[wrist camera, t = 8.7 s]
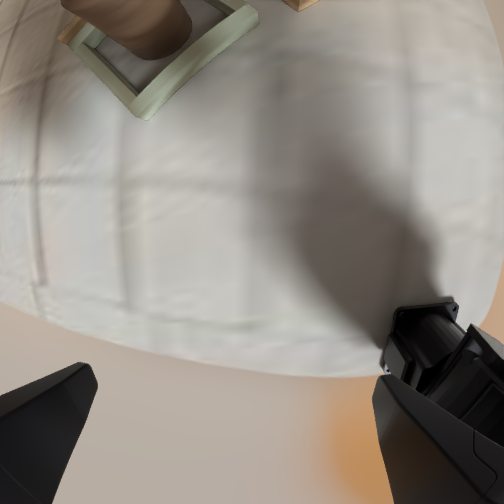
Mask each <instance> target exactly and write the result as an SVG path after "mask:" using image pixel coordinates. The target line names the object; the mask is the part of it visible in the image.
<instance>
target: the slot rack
mask: <svg viewBox="0 0 504 504" xmlns="http://www.w3.org/2000/svg"><path fill="white" fill-rule="evenodd" d="M205 1H207V2H208V3H210V4H211V5H213V6H215V7H216V8H218V9H219V10H221V11H222V12H223V13H225V14H226V15H228V17H227V18H225V19H224V20H223V21H221V22H220V23H219V24H217V25H216V26H215V27H213V28H212V29H211V30H209V31H208V32H207V33H205V34H204V35H203V36H202V37H200V38H199V39H198V40H197V41H196V42H194V43H193V44H192V45H191V46H190V47H188V48H187V49H186V50H185V51H184V52H183V53H181V54H180V55H179V56H178V57H177V58H176V59H175V60H174V61H172V62H171V63H170V64H169V65H168V66H167V67H166V68H165V69H164V70H163V71H162V72H161V73H160V74H159V75H158V76H157V77H156V78H155V79H154V80H153V81H152V82H151V83H150V84H149V85H148V86H147V87H146V88H145V89H144V90H143V91H142V92H141V93H140V94H139V93H138V92H137V91H136V90H135V89H134V88H133V87H132V86H131V85H130V84H129V83H128V82H127V81H126V80H125V79H124V78H123V77H122V76H121V75H120V74H119V73H118V72H117V71H116V70H115V69H114V68H113V67H112V66H111V65H110V64H109V63H108V62H107V61H106V60H105V59H104V58H103V57H102V56H101V55H100V54H99V53H98V52H97V51H96V50H95V48H96V47H97V46H98V45H99V44H100V42H101V41H102V40H103V39H104V38H105V37H106V36H107V35H106V34H105V33H103V32H102V31H100V30H99V29H97V28H96V27H94V26H93V25H91V24H90V23H88V22H86V21H85V20H83V19H82V18H80V17H78V16H77V15H76V16H75V17H74V19H73V20H72V21H71V22H70V23H69V24H68V25H67V26H66V28H65V29H64V30H63V31H62V32H61V33H60V35H59V36H58V37H57V38H58V39H59V40H60V42H62V43H64V44H67V45H68V46H69V47H70V48H71V49H72V50H73V51H74V52H75V53H76V54H77V55H78V57H79V58H80V59H81V60H82V61H83V62H84V63H85V64H86V65H87V66H88V67H89V68H90V69H91V70H92V71H93V72H94V73H95V75H96V76H97V77H98V78H99V79H100V80H101V81H102V82H103V83H104V84H105V85H106V86H107V87H108V88H109V89H110V90H111V92H112V93H113V94H114V95H115V96H116V97H117V98H118V99H119V100H120V101H121V102H122V103H123V104H124V105H125V106H126V108H127V109H128V110H129V111H130V112H131V113H132V114H133V115H134V116H135V117H138V118H141V119H143V120H146V121H148V120H149V119H150V118H151V117H152V116H153V114H154V113H155V112H156V111H157V110H158V109H159V108H160V107H161V106H162V105H163V104H164V103H165V102H166V101H167V100H168V99H169V98H170V97H171V96H172V95H173V94H174V93H175V92H176V91H177V90H178V89H179V88H180V87H182V86H183V85H184V84H185V83H186V82H187V81H188V80H189V79H190V78H191V77H192V76H194V75H195V74H196V73H197V72H198V71H199V70H200V69H201V68H203V67H204V66H205V65H206V64H207V63H208V62H210V61H211V60H212V59H213V58H214V57H216V56H217V55H218V54H219V53H221V52H222V51H223V50H224V49H226V48H227V47H228V46H230V45H231V44H232V43H233V42H235V41H236V40H237V39H239V38H240V37H241V36H243V35H244V34H246V33H247V32H248V31H250V30H251V29H253V28H254V27H256V26H257V25H258V24H259V19H258V12H257V10H256V9H254V8H253V7H251V6H250V5H248V4H247V3H245V2H244V1H242V0H205ZM282 1H284V2H285V3H286V4H288V5H289V6H291V7H292V8H293V9H295V10H296V11H297V12H299V11H301V10H303V9H305V8H306V7H308V6H310V5H312V4H313V3H315V2H317V1H319V0H282Z"/></svg>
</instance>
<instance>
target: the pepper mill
mask: <svg viewBox="0 0 504 504" xmlns="http://www.w3.org/2000/svg"><path fill="white" fill-rule="evenodd" d="M61 5H62V6H63V7H64V8H65V9H67V10H69V11H70V12H72V13H74V14H75V15H77V16H78V17H80V18H82V19H83V20H85V21H86V22H88V23H90V24H91V25H93V26H94V27H96V28H97V29H99V30H100V31H102V32H103V33H105V34H106V35H108V36H109V37H111V38H112V39H114V40H115V41H117V42H118V43H119V44H121V45H122V46H124V47H125V48H126V49H128V50H129V51H131V52H132V53H133V54H135V55H136V56H138V57H139V58H141V59H145V60H156V59H160V58H163V57H166V56H168V55H170V54H172V53H173V52H175V51H176V50H178V49H179V48H180V47H181V46H182V45H183V44H184V43H185V41H186V40H187V39H188V37H189V35H190V33H191V29H192V22H191V19H190V17H189V15H188V14H187V12H186V11H185V9H184V7H183V6H182V4H181V3H180V1H179V0H61Z"/></svg>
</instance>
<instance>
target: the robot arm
mask: <svg viewBox="0 0 504 504" xmlns="http://www.w3.org/2000/svg"><path fill="white" fill-rule="evenodd" d="M453 307H454V309H453ZM452 309H453V310H452ZM458 309H459V305H458V304H457V303H456V302H448V303H440V304H430V305H421V306H410V307H400V308H398V309H397V310H396V311H395V314H394V319H393V325H392V330H391V333H390V334H389V335H388V340H387V344H386V349H385V353H384V358H383V359H384V365H383V371H384V373H385V374H387V375H381V376H379V377H378V379H377V382H376V386H375V389H374V393H373V396H372V403H373V409H374V414H375V421H376V426H377V434H378V440H379V445H380V449H381V453H382V456H383V460H384V464H385V468H386V472H387V475H388V479H389V483H390V488H391V492H392V496H393V500H394V504H504V345H503V344H502V343H501V342H500V341H498V340H497V339H495V338H494V337H492V336H491V335H489V334H488V333H486V332H484V331H483V330H481V329H480V328H478V327H476V326H475V325H473V324H470V326H469V327H468V329H467V332H465V331H464V330H463V329H462V328H461V327H460V326H459V325H458V324H457V323H456V322H455V321H456V317H457V313H458ZM402 312H403V313H402ZM400 313H402V315H400V316H399V314H400ZM97 389H98V383H97V380H96V378H95V375H94V373H93V370H92V368H91V366H90V365H89V364H87V363H83V362H77V363H75V364H73V365H71V366H68V367H66V368H64V369H62V370H59V371H57V372H55V373H53V374H50V375H48V376H45V377H43V378H41V379H38V380H36V381H34V382H31V383H29V384H27V385H24V386H22V387H20V388H17V389H15V390H12V391H10V392H8V393H5V394H3V395H1V396H0V504H52V502H53V500H54V497H55V494H56V491H57V489H58V486H59V483H60V481H61V478H62V476H63V473H64V471H65V469H66V466H67V464H68V461H69V459H70V457H71V454H72V452H73V449H74V447H75V445H76V443H77V440H78V438H79V436H80V434H81V431H82V429H83V427H84V425H85V423H86V420H87V417H88V414H89V411H90V408H91V405H92V403H93V400H94V397H95V394H96V392H97Z"/></svg>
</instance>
